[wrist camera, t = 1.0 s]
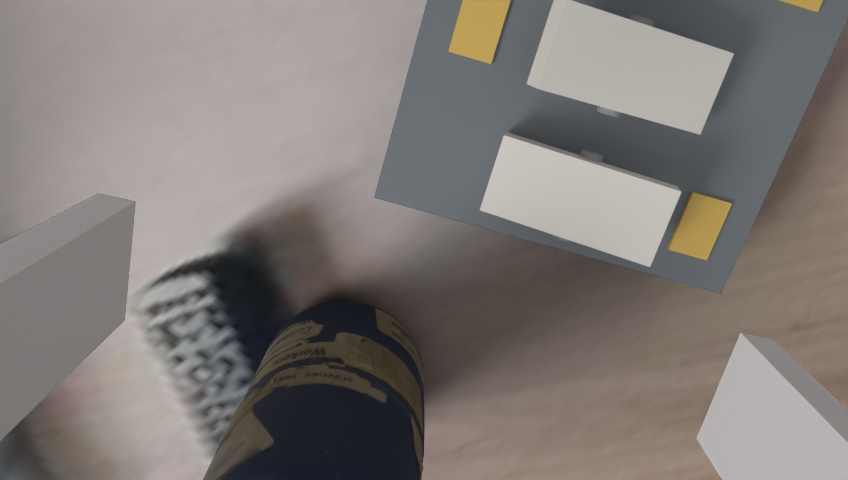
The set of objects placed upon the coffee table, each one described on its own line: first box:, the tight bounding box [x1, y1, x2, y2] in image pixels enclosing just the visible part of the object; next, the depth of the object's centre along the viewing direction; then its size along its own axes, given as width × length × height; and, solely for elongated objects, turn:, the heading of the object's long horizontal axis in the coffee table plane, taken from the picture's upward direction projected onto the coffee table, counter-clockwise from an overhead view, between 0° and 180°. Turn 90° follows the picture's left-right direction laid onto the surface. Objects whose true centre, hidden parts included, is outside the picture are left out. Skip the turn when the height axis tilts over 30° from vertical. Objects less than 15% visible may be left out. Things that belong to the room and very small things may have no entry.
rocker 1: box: [527, 0, 734, 135], centre depth 29 cm, size 8×4×2 cm, turn 74°
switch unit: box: [374, 0, 848, 294], centre depth 32 cm, size 18×18×5 cm
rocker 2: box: [480, 132, 681, 267], centre depth 30 cm, size 8×4×2 cm, turn 74°
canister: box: [203, 302, 424, 480], centre depth 32 cm, size 10×10×18 cm
